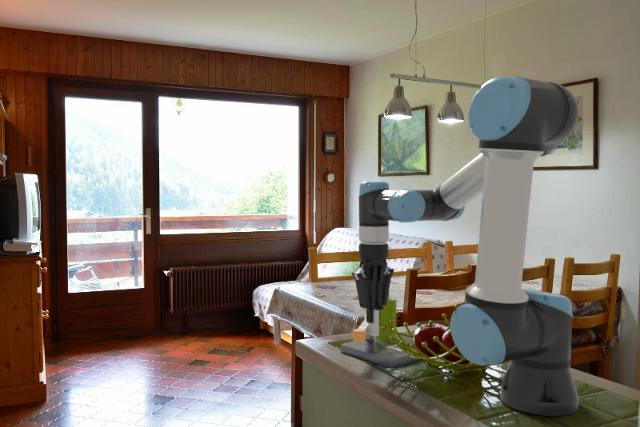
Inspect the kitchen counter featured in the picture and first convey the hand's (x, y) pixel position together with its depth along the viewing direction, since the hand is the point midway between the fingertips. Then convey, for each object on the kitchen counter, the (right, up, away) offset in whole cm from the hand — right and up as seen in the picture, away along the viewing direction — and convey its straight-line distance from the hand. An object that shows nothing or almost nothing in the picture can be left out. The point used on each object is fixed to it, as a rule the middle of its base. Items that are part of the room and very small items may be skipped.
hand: (373, 334), depth 150 cm
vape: (+5, -6, +18) cm, 20 cm away
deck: (+2, -6, +5) cm, 8 cm away
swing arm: (-2, -1, +4) cm, 4 cm away
